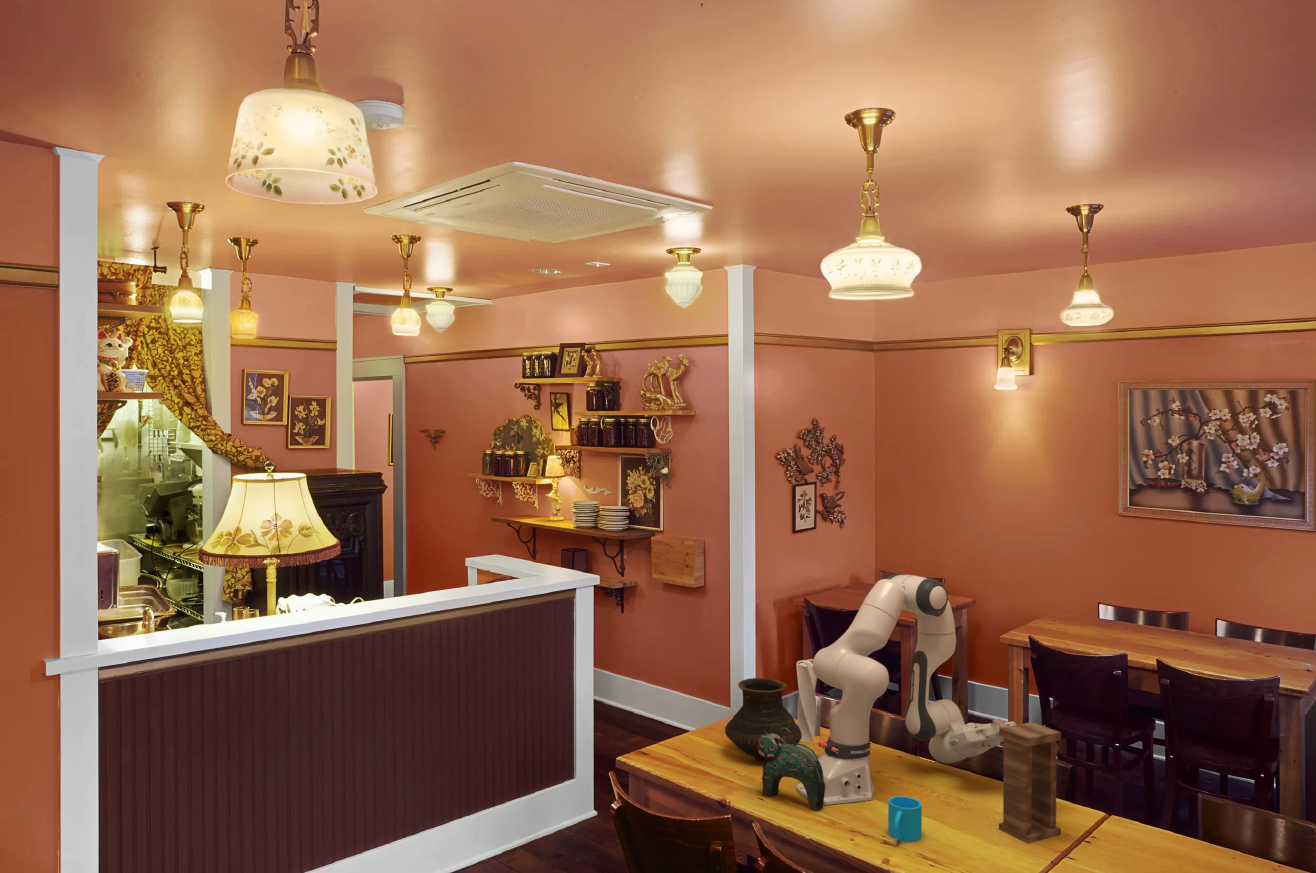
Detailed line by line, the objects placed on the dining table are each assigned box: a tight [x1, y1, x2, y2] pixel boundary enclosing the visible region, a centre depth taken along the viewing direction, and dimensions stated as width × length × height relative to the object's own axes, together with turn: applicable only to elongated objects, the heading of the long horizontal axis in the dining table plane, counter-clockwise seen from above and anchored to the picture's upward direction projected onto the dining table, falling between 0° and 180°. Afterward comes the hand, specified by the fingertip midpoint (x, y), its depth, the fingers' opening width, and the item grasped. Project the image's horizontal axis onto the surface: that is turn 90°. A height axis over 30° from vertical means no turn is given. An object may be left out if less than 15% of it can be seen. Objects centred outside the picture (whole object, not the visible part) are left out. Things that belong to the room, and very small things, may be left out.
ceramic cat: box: [757, 727, 825, 812], centre depth 242 cm, size 20×6×20 cm, turn 50°
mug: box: [887, 795, 923, 843], centre depth 220 cm, size 12×8×8 cm
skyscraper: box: [796, 658, 821, 742], centre depth 293 cm, size 8×8×28 cm
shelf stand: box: [998, 722, 1062, 844], centre depth 224 cm, size 12×9×26 cm
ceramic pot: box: [724, 677, 802, 760], centre depth 278 cm, size 24×24×22 cm
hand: (1005, 727), depth 246 cm, fingers closed on crank handle, 2 cm apart
